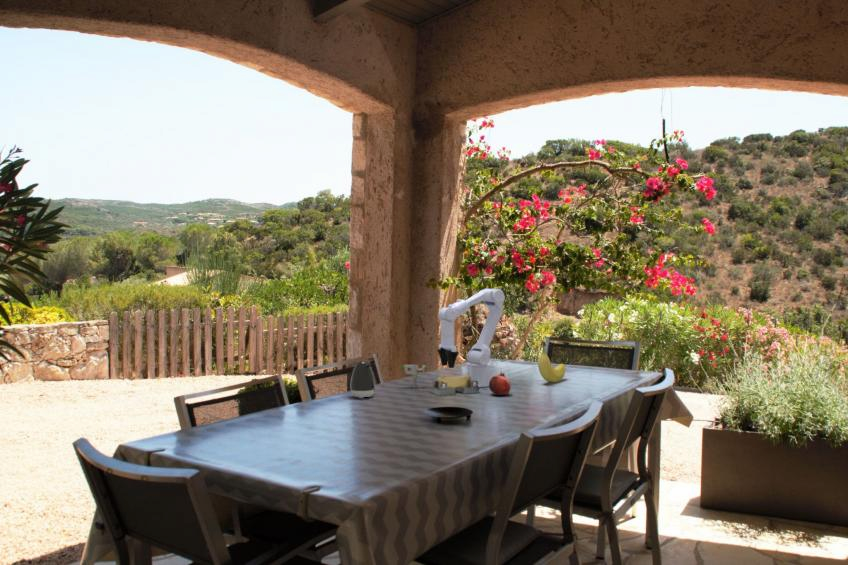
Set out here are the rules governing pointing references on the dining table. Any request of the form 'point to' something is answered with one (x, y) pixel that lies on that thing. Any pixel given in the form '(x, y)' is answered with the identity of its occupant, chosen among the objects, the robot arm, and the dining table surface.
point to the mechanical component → (413, 372)
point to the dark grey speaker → (362, 380)
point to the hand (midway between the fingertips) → (447, 366)
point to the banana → (550, 368)
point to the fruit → (499, 385)
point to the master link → (455, 381)
